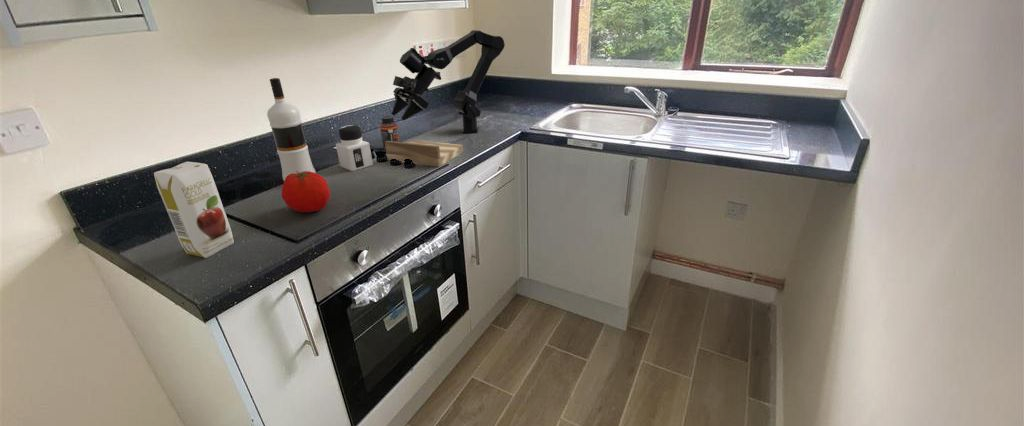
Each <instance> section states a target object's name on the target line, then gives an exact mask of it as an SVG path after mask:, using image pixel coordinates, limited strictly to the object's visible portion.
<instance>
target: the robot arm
mask: <svg viewBox="0 0 1024 426" xmlns="http://www.w3.org/2000/svg"><path fill="white" fill-rule="evenodd" d="M476 44H478V45H481V48H480V49H481V55H480V58H479V59H478V61H477V64H476V66H475V67H474V70H473V72H472V74H471V77H470V78H469V80H468V82H467V84H466V86H465V88H464V89H463V90H457V92H456V96H454V98H453V100H454V101H453V106H454V109H455V110H456V111H457V113H458V115H460V116H461V119H462V130H461V133H462V134H463V133H464V134H466V133H467V134H469V133H473V134H474V133H475V134H476V133H478V132H479V130H480V127H478V119H477V118H479V117H480V116H481V113H482V111H481V110H480V109H479V108H478V107H477V106H476V105H477V96H478V95H477V94H478V92H479V90H480V88H481V86H482V84H483V82H484V79H485V77H486V76H487V73H488V71H489V69H490V67H491V65H492V63H493V62H494V61H495V60H496V58H497V57H499V56H500V55H501V54H502V52H503V50H504V49H505V46H506V43H505V41H504V38H503V37H502V36H499V35H491V34H488V33H485V32H484V31H481V30H475V29H473V30H471V31H469V33H467V34H466V35H464V36H462V37H461V38H459V39H457V40H456V41H454V42H452V43H450V44H448V46H446V47H442V48H438V49H435V50H432V51H430V52H429V53H428V54H427V55H425V56H422V55H421V54H420V53H419V52H418V51H417V49H415V48H414V47H410V48H409V49H408V50H407V51H405V53H402V55H401V56H400V59H399V63H400V64H401V65H402V66H404V68H405V69H407V70H408V71H409V72H410V73H412V74H416V75H415V77H414V78H412V77H409V76H404V77H401V76H397V75H394V79H393V83H392V85H393V86H396V87H395V89H394V90H393V91H392V92H393V96H394V99H395V101H394V103H393V104H394V105H393V107H392V110H391V116H393V117H395V116H396V115H397V114H398V113H400V112H401V111H402V110H403V109H405V110H404V112H403V114H402V116H401V120H402V121H405V120H407V119H409V118H411V117H412V116H414V115H416V114H418V113H420V112H423V111H424V110H427V109H428V107H429V106H430V104H429V103H430V102H429V101H428V100H427V99H426V98H425V97H424V94H426V93H429V91H430V89H429V87H430V86H431V84H432V83H433V82H434V80H438V81H441V80H442V76H441V72H440V71H436V70H435V69H437V70H444V69H445V68H447V66H449V65H450V64H451V62H452V61H453V60H454V59H455V58H456V57H457V56H459V55H460V54H461V53H463V52H465V51H467V49H470V48H471V47H474V46H475V45H476Z"/></svg>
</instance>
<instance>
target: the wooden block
mask: <svg viewBox="0 0 1024 426" xmlns="http://www.w3.org/2000/svg"><path fill="white" fill-rule="evenodd" d="M385 146H386V149H385V150H386V157H387V161H388V160H391V159H396V160H399V161H401V162H400V163H403V162H402V161H404V160H405V159H410V160H412V161H413V163H414V164H413V165H421V166H429V167H437V168H438V167H439V168H440V167H441V166H443V165H445V164H446V163H448V162H450V161H451V160H453V159H454V158H456V157H457V156H459V155H460V154H462V153H464V147H463V144H459V143H458V144H457V143H447V142H438V141H437V142H436V141H427V140H417V139H416V140H415V139H413V140H411V141H409V142H400V141H399V142H394V141H386V142H385Z"/></svg>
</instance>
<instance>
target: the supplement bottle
mask: <svg viewBox="0 0 1024 426" xmlns="http://www.w3.org/2000/svg"><path fill="white" fill-rule="evenodd" d="M381 121H382V122H381V123H380V125H379V127H380V135H381V140H382V141H381V142H382V147H383V149H384V150H386V146H385V142H386V141H394V142H400V138H399V137H400V136H399V129H398V123H397V122H396V121H394V116H393V115H386V116H382V117H381Z"/></svg>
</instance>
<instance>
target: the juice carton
mask: <svg viewBox="0 0 1024 426" xmlns="http://www.w3.org/2000/svg"><path fill="white" fill-rule="evenodd" d="M153 176H154V180H155V183H156V188H157V190H158V193H159V195H160V197H161V200H162V203H163V205H164V207H165V211H166V212H167V214H168V217H169V220H170V221H171V222H170V223H171V224H172V226H173V229H174V230H175V233H176V236H177V238H178V241H179V243H180V245H181V247H182V248H183V250H184V251H185V252H186V254H187V255H190V256H191V255H192V256H195V257H200V258H205V259H206V258H210V257H212V256H213V255H215V254H217V253H218V252H220V251H222V250H224V249H226V248H228V247H230V246H231V245H233V244H234V243H235V242H234V236H233V232H232V229H231V225H230V223H229V222H230V221H229V220H228V216H227V214H226V211H225V208H224V206H223V203H222V200H221V197H220V194H219V191H218V188H217V185H216V182H215V180H214V177H213V175H212V172H211V169H210V168H209V166H208V164H206V163H202V162H194V161H184V162H182V163H179V164H177V165H175V166H173V167H170V168H165V169H161V170H158V171H154V172H153Z"/></svg>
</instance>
